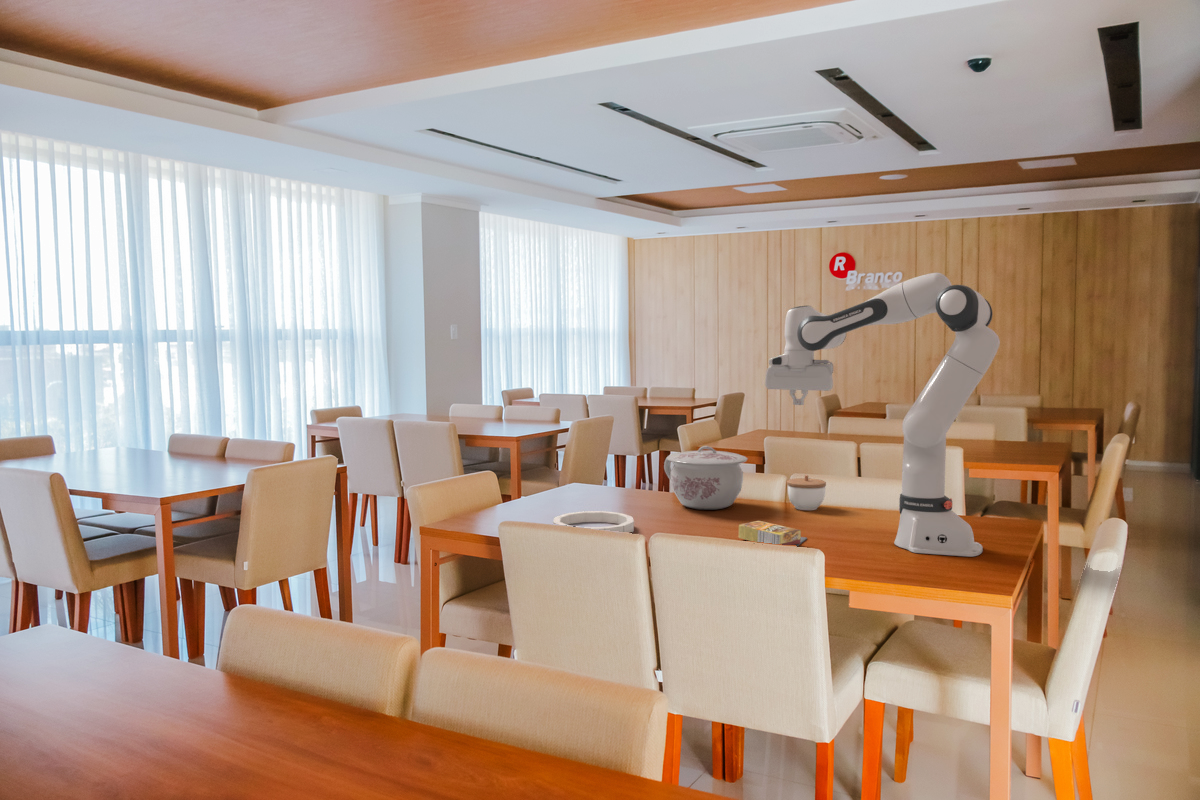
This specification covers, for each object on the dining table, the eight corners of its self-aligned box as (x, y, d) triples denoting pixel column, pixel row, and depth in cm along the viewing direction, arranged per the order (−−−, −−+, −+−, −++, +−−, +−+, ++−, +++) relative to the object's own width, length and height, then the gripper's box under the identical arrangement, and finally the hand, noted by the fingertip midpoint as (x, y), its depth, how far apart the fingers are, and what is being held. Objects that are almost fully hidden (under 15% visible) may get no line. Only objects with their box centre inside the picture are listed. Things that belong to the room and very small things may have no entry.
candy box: (758, 519, 251) (801, 528, 239) (758, 534, 251) (801, 544, 239) (738, 524, 245) (780, 533, 233) (738, 539, 245) (780, 549, 233)
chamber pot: (758, 513, 282) (758, 450, 280) (676, 516, 278) (676, 452, 276) (733, 496, 309) (733, 439, 308) (658, 499, 305) (658, 441, 304)
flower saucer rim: (646, 525, 265) (646, 515, 264) (609, 542, 244) (609, 532, 243) (579, 517, 276) (579, 508, 276) (538, 533, 255) (538, 523, 255)
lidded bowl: (804, 513, 280) (805, 480, 280) (779, 506, 291) (779, 474, 291) (833, 509, 286) (834, 476, 286) (807, 503, 297) (807, 471, 297)
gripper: (835, 359, 260) (835, 405, 261) (770, 358, 270) (769, 402, 271) (830, 360, 255) (830, 406, 256) (763, 359, 264) (763, 404, 265)
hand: (798, 404), depth 263 cm, fingers closed
